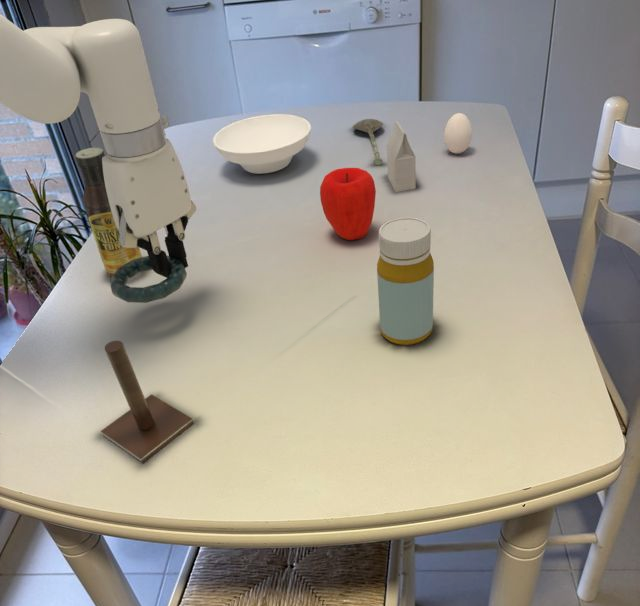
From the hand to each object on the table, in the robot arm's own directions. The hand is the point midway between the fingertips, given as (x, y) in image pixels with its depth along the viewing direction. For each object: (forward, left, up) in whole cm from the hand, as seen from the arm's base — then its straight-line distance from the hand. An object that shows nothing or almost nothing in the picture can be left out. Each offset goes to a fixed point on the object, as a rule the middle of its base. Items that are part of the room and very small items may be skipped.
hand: (171, 269), depth 92 cm
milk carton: (+4, +50, -7) cm, 51 cm away
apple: (+8, +30, -7) cm, 32 cm away
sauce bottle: (-17, +2, -7) cm, 18 cm away
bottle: (+31, +13, -7) cm, 35 cm away
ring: (0, -4, +1) cm, 4 cm away
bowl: (-25, +44, -7) cm, 51 cm away
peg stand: (+16, -20, -7) cm, 27 cm away
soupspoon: (-12, +62, -7) cm, 64 cm away
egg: (+6, +66, -7) cm, 67 cm away
